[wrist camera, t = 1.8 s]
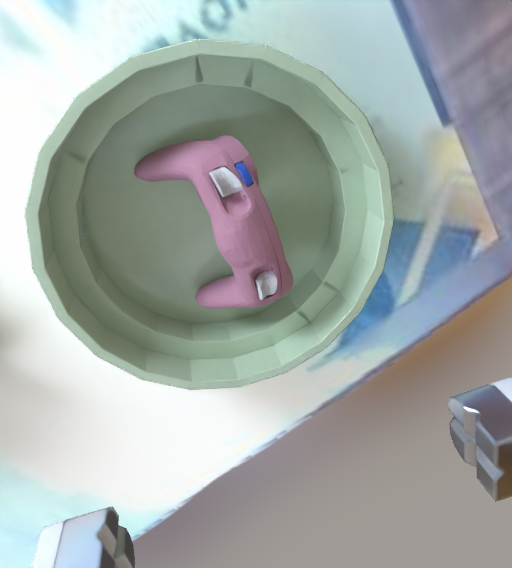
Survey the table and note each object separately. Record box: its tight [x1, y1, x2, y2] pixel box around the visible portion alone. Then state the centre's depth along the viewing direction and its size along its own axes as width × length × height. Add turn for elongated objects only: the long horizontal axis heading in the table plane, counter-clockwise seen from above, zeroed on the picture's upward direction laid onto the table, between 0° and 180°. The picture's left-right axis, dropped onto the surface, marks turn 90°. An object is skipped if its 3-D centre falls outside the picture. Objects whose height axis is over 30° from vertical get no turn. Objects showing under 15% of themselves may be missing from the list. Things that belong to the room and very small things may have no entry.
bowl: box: [25, 39, 394, 390], centre depth 26 cm, size 18×18×5 cm
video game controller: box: [134, 135, 293, 309], centre depth 25 cm, size 10×5×7 cm, turn 20°
